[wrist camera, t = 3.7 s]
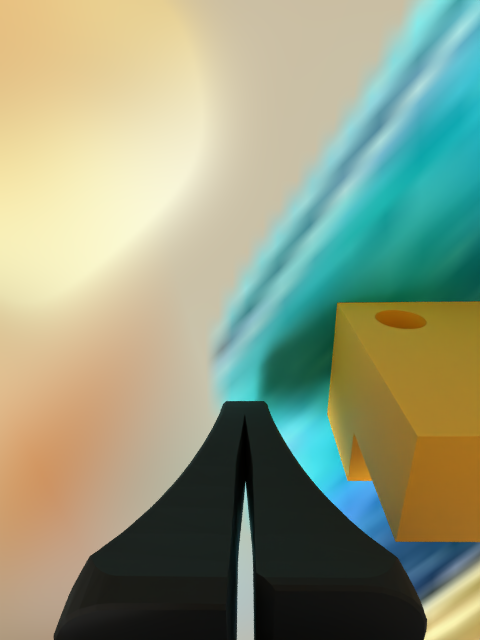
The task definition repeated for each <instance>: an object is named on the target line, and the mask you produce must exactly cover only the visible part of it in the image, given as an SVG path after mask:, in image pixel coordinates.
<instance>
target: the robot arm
mask: <svg viewBox="0 0 480 640" xmlns="http://www.w3.org/2000/svg"><path fill="white" fill-rule="evenodd" d="M245 482H246V489H247V500H248V510H249V520H250V530H251V540H252V552H253V582H254V583H253V587H254V640H424V637H425V633H426V627H427V618H426V616H425V613H424V610H423V607H422V604H421V601H420V599H419V597H418V595H417V593H416V591H415V589H414V587H413V585H412V583H411V581H410V579H409V577H408V575H407V573H406V572H405V570H404V568H403V566H402V564H401V563H400V561H399V559H398V558H397V557H396V556H395V555H393V554H392V553H391V552H389V551H388V550H387V549H385V548H384V547H383V546H381V545H380V544H378V543H377V542H376V541H374V540H373V539H372V538H370V537H369V536H368V535H366V534H365V533H364V532H363V531H362V530H361V529H359V528H358V527H357V526H356V525H355V524H354V523H352V522H351V521H350V520H349V519H348V518H347V517H346V516H345V515H344V514H343V513H342V512H341V511H340V510H339V509H338V508H337V507H336V506H335V505H334V504H333V503H332V502H331V501H330V500H329V499H328V498H327V497H326V496H325V495H324V494H323V493H322V491H321V490H320V489H319V488H318V487H317V486H316V485H315V483H314V482H313V481H312V480H311V479H310V477H309V476H308V475H307V474H306V472H305V471H304V470H303V468H302V467H301V466H300V464H299V463H298V461H297V460H296V459H295V457H294V456H293V454H292V453H291V451H290V449H289V448H288V446H287V445H286V443H285V441H284V440H283V438H282V436H281V434H280V433H279V431H278V429H277V427H276V425H275V423H274V421H273V419H272V416H271V414H270V411H269V409H268V405H267V404H266V403H265V402H264V401H226V402H225V403H224V404H223V406H222V409H221V412H220V414H219V416H218V418H217V420H216V422H215V424H214V426H213V428H212V430H211V432H210V433H209V435H208V437H207V438H206V440H205V442H204V444H203V445H202V447H201V448H200V450H199V451H198V453H197V454H196V455H195V457H194V458H193V460H192V461H191V463H190V464H189V465H188V467H187V468H186V469H185V471H184V472H183V473H182V474H181V476H180V477H179V478H178V479H177V480H176V482H175V483H174V484H173V485H172V486H171V487H170V488H169V489H168V490H167V491H166V492H165V494H164V495H163V496H162V497H161V498H160V499H159V500H158V501H157V502H156V503H155V504H154V505H153V506H152V507H151V508H150V509H149V510H148V511H147V512H145V513H144V514H143V515H142V516H141V517H140V518H139V519H138V520H136V521H135V522H134V523H133V524H132V525H131V526H130V527H128V528H127V529H126V530H125V531H124V532H123V533H121V534H120V535H119V536H117V537H116V538H114V539H113V540H112V541H110V542H109V543H108V544H106V545H105V546H104V547H102V548H101V549H100V550H98V551H97V552H95V553H94V554H92V555H91V556H90V557H89V559H88V560H87V562H86V564H85V566H84V567H83V569H82V571H81V573H80V575H79V577H78V579H77V580H76V582H75V584H74V586H73V588H72V590H71V592H70V594H69V596H68V599H67V602H66V605H65V607H64V609H63V612H62V614H61V617H60V619H59V622H58V625H57V628H56V631H55V633H54V640H237V584H238V553H239V552H238V551H239V541H240V531H241V522H242V512H243V502H244V492H245Z"/></svg>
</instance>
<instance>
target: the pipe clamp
mask: <svg viewBox="0 0 480 640" xmlns="http://www.w3.org/2000/svg"><path fill="white" fill-rule="evenodd" d="M327 415H328V418H329V421H330V425H331V428H332V431H333V434H334V438H335V441H336V444H337V447H338V451H339V454H340V457H341V460H342V464H343V467H344V470H345V473H346V477H347V480H348V481H373V484H374V486H375V489H376V492H377V494H378V497H379V499H380V502H381V505H382V507H383V510H384V512H385V515H386V518H387V520H388V523H389V526H390V528H391V531H392V533H393V536H394V539H395V541H396V542H480V301H471V302H356V303H337V312H336V323H335V334H334V345H333V356H332V368H331V379H330V390H329V401H328V413H327Z"/></svg>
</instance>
